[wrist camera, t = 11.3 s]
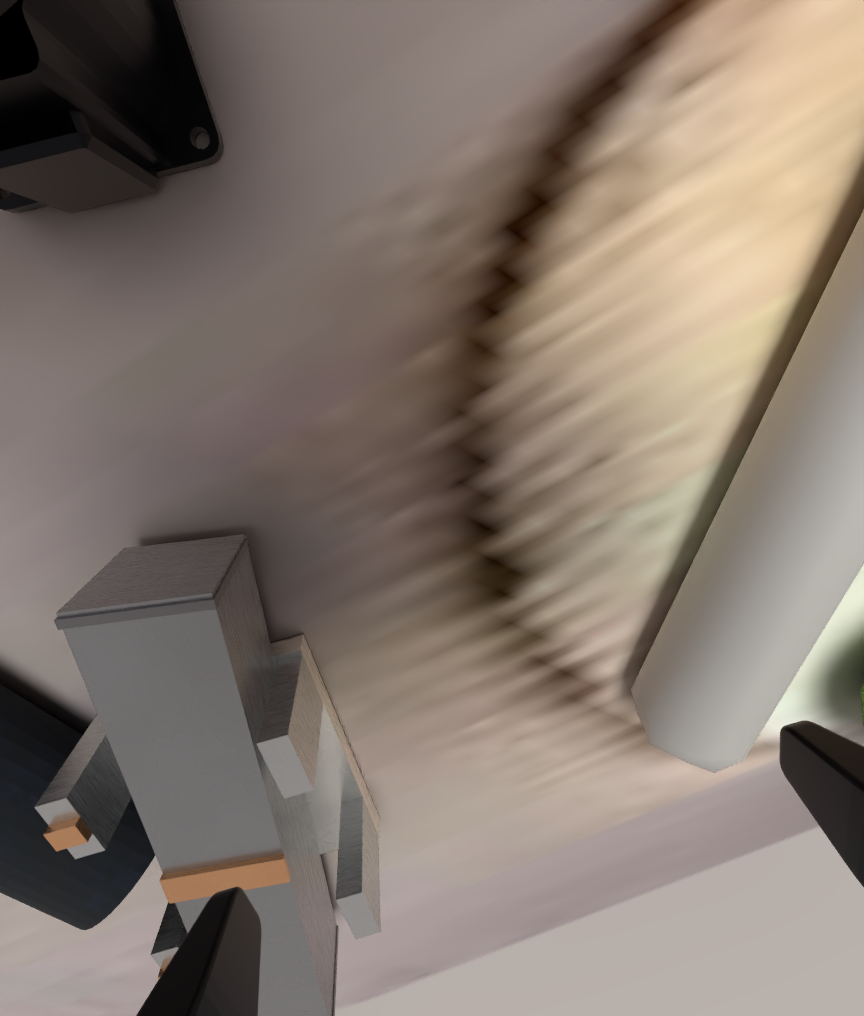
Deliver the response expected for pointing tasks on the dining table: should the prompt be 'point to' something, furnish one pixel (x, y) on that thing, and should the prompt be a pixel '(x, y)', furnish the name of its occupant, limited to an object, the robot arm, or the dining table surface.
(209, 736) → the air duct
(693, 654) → the tube
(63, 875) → the pipe connector
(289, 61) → the dining table surface
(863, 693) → the avocado
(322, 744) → the collar rail
